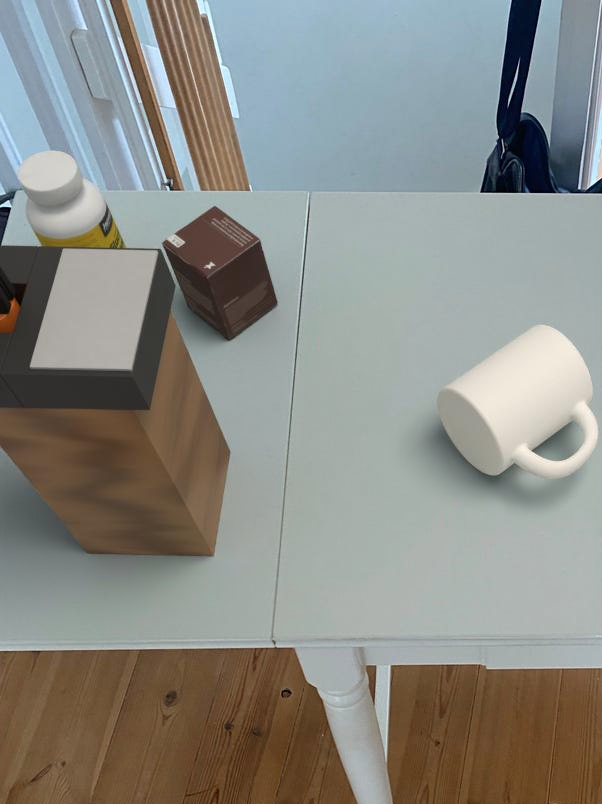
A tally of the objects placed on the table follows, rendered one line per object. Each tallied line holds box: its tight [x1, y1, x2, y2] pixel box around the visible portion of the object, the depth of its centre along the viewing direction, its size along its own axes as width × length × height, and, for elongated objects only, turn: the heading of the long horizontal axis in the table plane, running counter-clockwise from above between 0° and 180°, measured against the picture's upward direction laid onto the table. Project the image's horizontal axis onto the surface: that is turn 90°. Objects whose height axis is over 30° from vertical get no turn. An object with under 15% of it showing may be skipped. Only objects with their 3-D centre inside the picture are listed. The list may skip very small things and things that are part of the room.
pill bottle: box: [17, 150, 127, 248], centre depth 75 cm, size 6×6×12 cm
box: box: [161, 205, 279, 340], centre depth 76 cm, size 6×6×7 cm
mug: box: [436, 324, 599, 480], centre depth 70 cm, size 12×10×8 cm
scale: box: [0, 244, 177, 410], centre depth 53 cm, size 12×10×3 cm
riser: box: [0, 310, 231, 557], centre depth 63 cm, size 10×10×18 cm
